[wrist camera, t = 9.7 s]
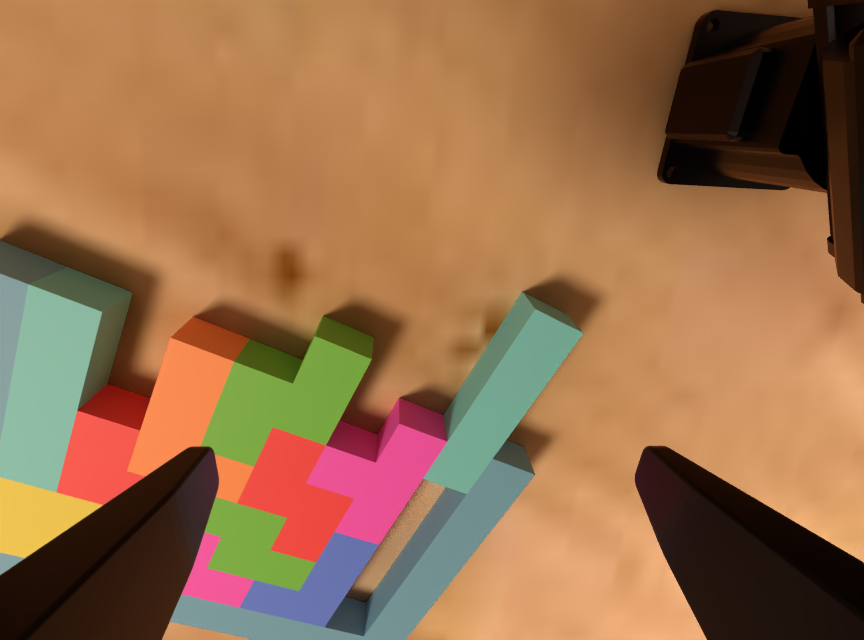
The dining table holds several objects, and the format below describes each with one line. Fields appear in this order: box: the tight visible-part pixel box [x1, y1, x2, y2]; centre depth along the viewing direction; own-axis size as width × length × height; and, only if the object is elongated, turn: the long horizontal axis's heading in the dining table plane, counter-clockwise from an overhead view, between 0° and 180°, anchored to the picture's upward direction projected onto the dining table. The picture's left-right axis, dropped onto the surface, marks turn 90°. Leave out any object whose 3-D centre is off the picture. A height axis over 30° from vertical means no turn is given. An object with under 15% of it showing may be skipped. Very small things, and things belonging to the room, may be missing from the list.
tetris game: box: [0, 241, 583, 640], centre depth 23 cm, size 28×3×28 cm
